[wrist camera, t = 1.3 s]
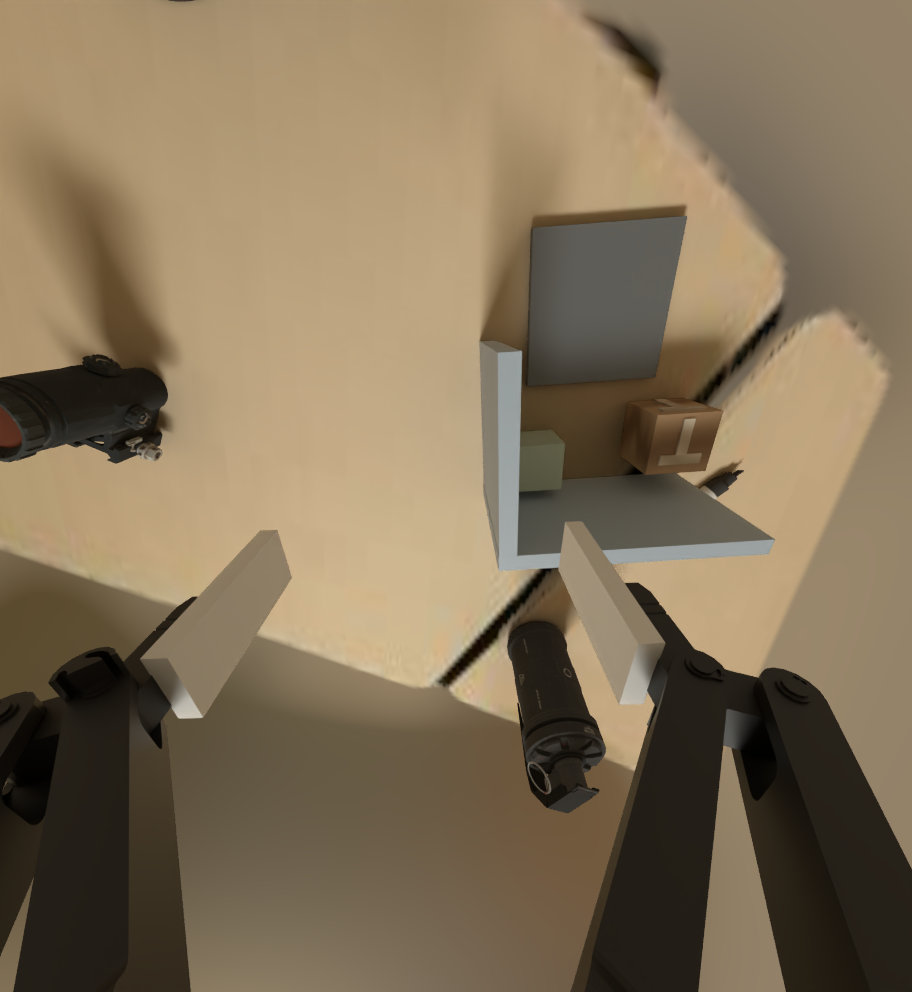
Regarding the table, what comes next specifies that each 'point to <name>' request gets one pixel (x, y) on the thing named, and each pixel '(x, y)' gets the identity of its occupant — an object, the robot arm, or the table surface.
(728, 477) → the marker
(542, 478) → the plain cube
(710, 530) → the screen
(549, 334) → the mat
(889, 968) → the robot arm
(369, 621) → the table surface
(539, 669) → the grenade
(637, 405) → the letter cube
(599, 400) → the table surface
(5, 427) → the scope
